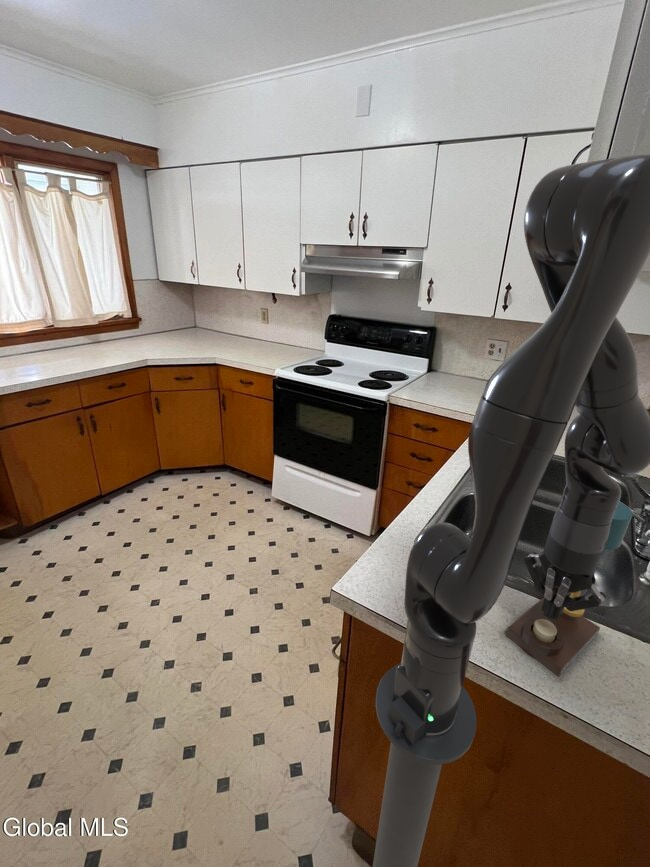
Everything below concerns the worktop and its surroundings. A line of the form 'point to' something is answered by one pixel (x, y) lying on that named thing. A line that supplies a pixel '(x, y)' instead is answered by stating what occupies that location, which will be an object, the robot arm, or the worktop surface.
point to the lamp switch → (544, 630)
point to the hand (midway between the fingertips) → (550, 615)
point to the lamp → (610, 542)
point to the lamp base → (566, 644)
